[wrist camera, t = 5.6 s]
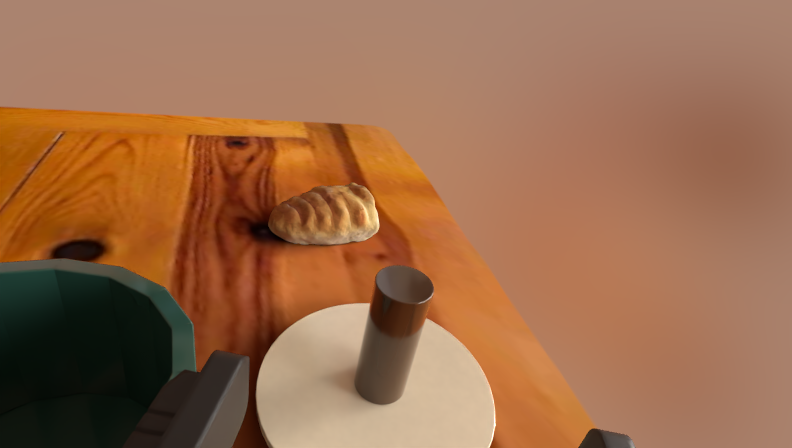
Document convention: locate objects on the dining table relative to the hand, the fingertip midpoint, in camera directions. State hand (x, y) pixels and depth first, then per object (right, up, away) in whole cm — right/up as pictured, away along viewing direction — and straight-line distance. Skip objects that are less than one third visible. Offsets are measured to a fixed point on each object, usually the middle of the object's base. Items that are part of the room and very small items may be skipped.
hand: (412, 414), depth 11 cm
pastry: (-7, +4, +31) cm, 32 cm away
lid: (-1, -5, +16) cm, 17 cm away
